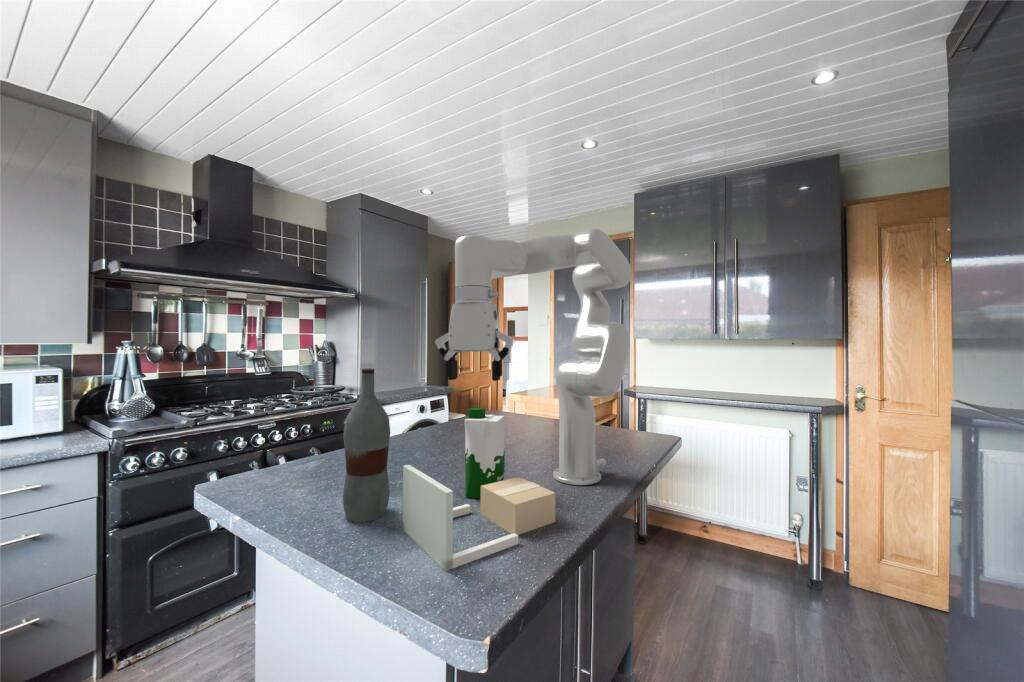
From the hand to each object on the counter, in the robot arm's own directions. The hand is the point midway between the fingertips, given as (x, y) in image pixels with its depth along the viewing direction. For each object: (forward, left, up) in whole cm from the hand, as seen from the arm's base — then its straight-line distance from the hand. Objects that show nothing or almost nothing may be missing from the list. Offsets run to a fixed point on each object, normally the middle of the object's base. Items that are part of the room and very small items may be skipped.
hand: (474, 379), depth 82 cm
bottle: (+17, -14, -28) cm, 36 cm away
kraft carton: (-7, +6, -28) cm, 30 cm away
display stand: (+6, +6, -28) cm, 29 cm away
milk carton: (-9, -9, -28) cm, 31 cm away
